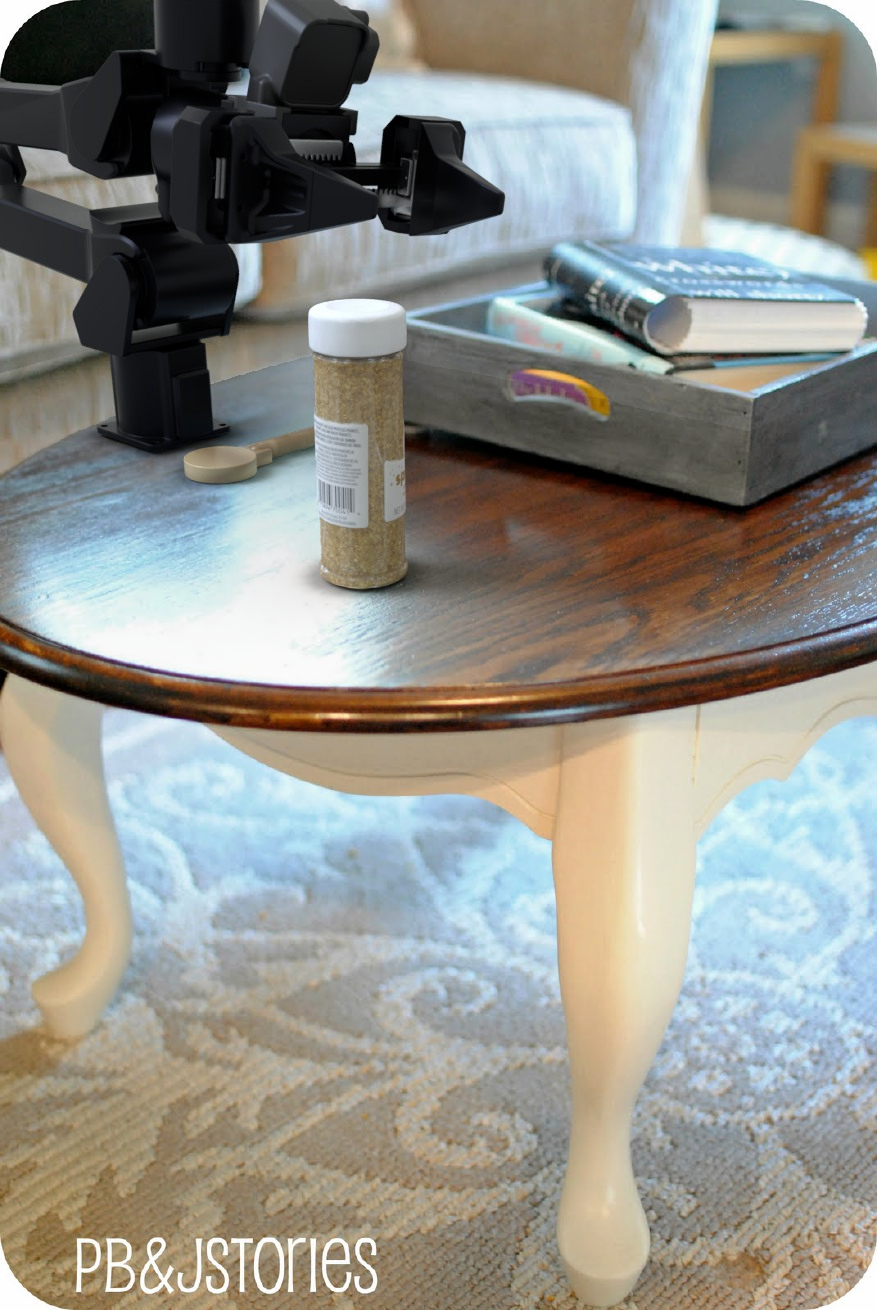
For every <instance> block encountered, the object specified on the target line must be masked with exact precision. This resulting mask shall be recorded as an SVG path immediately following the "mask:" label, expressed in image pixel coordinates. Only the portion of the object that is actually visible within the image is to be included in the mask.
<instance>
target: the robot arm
mask: <svg viewBox="0 0 877 1310" xmlns="http://www.w3.org/2000/svg"><path fill="white" fill-rule="evenodd" d="M260 3H261V2H260V0H152V9H153V10H152V11H153V38H154V39H153V40H154V49H127V50H126V49H125V50H124V49H123V50H113V51H112V52H111V53H110V55H109V56H108V58H106V59H105V61H104V63H103V64H102V65H101V66H100V68H99V69H98V70H97V71H96V73H95V74H94V75H93V76H87V77H83V78H80V79H76V80H72V81H70V82H66V83H63V84H62V85H51V84H37V83H24V82H22V83H21V82H12V81H9V80H7V79H5V78H2V77H0V250H2V251H5V252H7V253H10V254H12V255H15V256H17V257H19V258H22V259H24V260H27V261H29V262H32V263H34V264H37V265H39V266H42V267H44V268H47V269H49V270H51V271H54V272H55V273H59V274H62V275H64V276H66V277H69V278H71V279H74V280H76V281H79V282H81V283H83V284H86V285H85V288H84V289H83V291H82V293H81V295H80V297H79V299H78V301H77V303H76V305H75V306H74V308H73V310H72V315H71V316H72V319H73V322H74V327H75V329H76V332H77V336H78V339H79V343H80V345H81V346H82V347H85V348H87V349H91V350H95V351H99V352H101V353H102V352H103V353H106V354H109V364H110V365H109V366H110V375H111V376H110V377H111V385H112V393H113V405H114V414H115V420H112V421H109V422H105V423H101V424H97V425H96V432H97V434H99V435H102V436H104V437H108V438H111V439H113V440H117V441H120V442H122V443H125V444H127V445H128V444H129V445H131V446H134V447H137V448H140V449H143V450H146V451H149V452H160V451H164V450H168V449H172V448H175V447H180V446H183V445H186V444H190V443H193V442H198V441H201V440H205V439H208V438H212V437H216V436H219V435H223V434H227V433H230V432H231V424H230V423H229V422H226V421H221V420H219V419H215V418H214V413H213V411H214V410H213V399H212V385H211V384H212V383H211V372H210V370H209V368H208V358H207V357H208V355H207V344H206V343H205V342H202V340H206V339H211V338H215V337H216V338H217V337H221V338H223V337H226V336H227V337H228V336H229V335H230V334H231V333H230V331H231V327H232V320H233V316H234V310H235V305H236V304H235V303H236V300H237V299H236V298H237V294H238V287H239V282H240V265H239V261H238V258H237V256H236V255H237V254H236V253H235V251H234V250H233V248H232V247H231V245H248V244H249V245H251V244H269V243H274V242H280V241H284V240H288V239H293V238H296V237H301V236H306V235H308V234H309V235H310V234H314V233H320V232H324V231H327V230H333V229H336V228H337V229H338V228H342V227H346V226H351V225H355V224H359V223H363V222H368V221H373V220H374V219H376V218H377V217H378V219H379V221H380V223H381V226H382V227H383V230H385V231H389V232H392V233H396V234H403V235H408V236H409V237H429V236H442V235H448V234H449V232H450V231H452V230H455V229H458V228H461V227H464V226H467V225H471V224H474V223H477V222H481V221H485V220H488V219H491V218H496V217H499V216H501V215H502V214H503V213H504V210H505V202H506V193H505V192H504V191H503V190H501V189H500V188H499V187H497V186H496V185H494V184H493V183H492V182H491V181H489V180H487V179H486V178H484V177H483V176H482V175H481V174H479V173H478V172H476V171H475V170H474V169H472V168H471V167H470V166H468V165H467V164H465V162H463V161H464V160H463V159H464V151H465V145H466V137H467V136H466V135H467V131H466V129H465V127H464V125H463V123H462V121H461V120H457V119H451V118H448V117H442V116H437V115H415V114H414V115H413V114H395V115H394V116H393V118H391V119H390V121H389V122H388V123H387V124H386V126H384V128H383V129H382V135H381V145H380V154H379V155H380V156H379V157H380V158H379V162H369V161H368V162H363V161H361V162H358V161H357V153H356V149H355V148H356V147H355V144H354V142H352V141H350V138H351V136H353V137H354V136H356V135H357V131H358V129H357V128H358V119H359V110H357V109H352V108H349V107H348V108H347V107H343V105H344V104H345V102H346V101H347V100H348V98H349V95H350V94H351V91H352V87H353V85H363V84H366V83H368V81H369V78H370V75H371V73H372V70H373V67H374V64H375V61H376V59H377V55H378V53H379V50H380V45H381V42H380V38H379V34H378V31H376V30H374V29H373V28H372V27H371V26H369V24H370V15H369V14H368V12H367V11H366V10H362V9H353V8H350V7H348V6H347V5H343V4H342V5H341V4H340V3H338V1H336V0H268V1H267V2H266V5H265V6H264V10H263V13H262V16H260V10H261V9H260V5H261V4H260ZM260 17H261V21H260ZM242 69H243V70H248V74H249V80H248V86H247V91H246V95H245V94H228V93H227V91H228V88H229V86H230V84H229V83H236V82H240V81H242ZM19 147H20V148H29V149H37V150H44V151H52V152H58V153H61V154H63V155H66V157H67V161H68V164H69V165H71V166H72V167H73V168H74V169H78V170H80V171H82V172H84V173H86V174H88V175H91V176H93V177H94V178H97V179H100V180H103V181H109V180H118V179H128V178H137V177H146V176H154V175H155V177H156V185H155V187H154V191H155V193H156V195H157V201H153V202H144V203H134V204H125V205H118V206H109V207H102V208H94V209H93V208H92V209H91V208H88V207H86V206H82V205H80V204H77V203H74V202H71V201H68V200H66V199H63V198H59V197H57V196H55V195H51V194H49V193H45V192H43V191H40V190H36V189H34V188H31V187H28V186H26V185H24V182H25V179H26V177H27V175H28V171H27V168H26V165H25V163H24V162H25V161H24V160H23V157H22V153H21V151H20V148H19ZM366 187H367V188H366ZM368 187H372V188H368ZM374 187H376V188H374Z"/></svg>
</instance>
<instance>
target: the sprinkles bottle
mask: <svg viewBox="0 0 877 1310" xmlns="http://www.w3.org/2000/svg"><path fill="white" fill-rule="evenodd" d="M406 313H407V312H406V309H405V308H404V307H403V306H402V305H401V304H399V303H396V302H393V301H389V300H384V299H383V300H382V299H372V298H345V299H344V298H343V299H335V300H328V301H324V302H319V303H317V304H315V305H313V306H312V307H311V308H309V310H308V314H307V315H308V316H307V317H308V318H307V319H308V324H307V325H308V346H309V349H311V350H312V352H311V358H312V360H313V383H314V389H313V390H314V411H313V423H314V424H313V426H314V427H315V446H314V453H315V475H316V497H317V499H316V501H317V513H318V516H319V524H320V525H319V528H320V530H319V531H320V547H321V549H320V551H321V553H320V556H321V559H320V562H319V566H318V570H319V573H320V576H321V577H322V578H323V580H325V581H327V582H329V583H330V584H333V585H334V586H339V587H342V588H348V589H355V590H368V589H376V588H383V587H388V586H389V585H392V584H395V583H396V582H399V581H400V580H402V579H403V578H404V577H405V576H406V574H407V572H408V568H409V562H408V559H407V557H406V515H405V514H406V510H407V501H406V499H407V498H406V496H407V495H406V453H405V452H406V450H405V449H406V448H405V447H406V445H405V420H404V406H403V405H404V403H403V401H404V400H403V399H404V397H403V395H404V387H403V357H404V355H405V350H404V349H405V348H406V346H407V343H408V342H407V341H408V339H407V338H408V337H407V336H408V335H407V332H408V331H407V329H408V328H407V314H406Z"/></svg>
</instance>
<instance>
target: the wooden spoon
mask: <svg viewBox="0 0 877 1310" xmlns="http://www.w3.org/2000/svg"><path fill="white" fill-rule="evenodd" d="M312 447H315V427H314V425H313V426H310V427H307V428H302V429H299V430H297V431H292V432H288V433H284V434H281V435H278V436H274V437H271V438H267V439H264V440H260V441H257V442H254V443H251V444H247V445H244V446H232V445H231V446H230V445H229V446H228V445H217V446H208V447H203V448H198V449H195V450H193V451H190V452H188V453H186V454H185V455H184V457H183V471H184V475H185V477H186V478H187V479H189V480H191V481H194V482H197V483H203V484H216V485H218V484H233V483H238V482H241V481H245V480H248V479H250V478H252V477H254V476H255V475H256V474H257V473H258V468H260V467H262V466H266V465H270V464H273V458H277V457H281V456H284V455H288V454H291V453H295V452H297V451H301V450H305V449H308V448H312Z"/></svg>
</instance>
